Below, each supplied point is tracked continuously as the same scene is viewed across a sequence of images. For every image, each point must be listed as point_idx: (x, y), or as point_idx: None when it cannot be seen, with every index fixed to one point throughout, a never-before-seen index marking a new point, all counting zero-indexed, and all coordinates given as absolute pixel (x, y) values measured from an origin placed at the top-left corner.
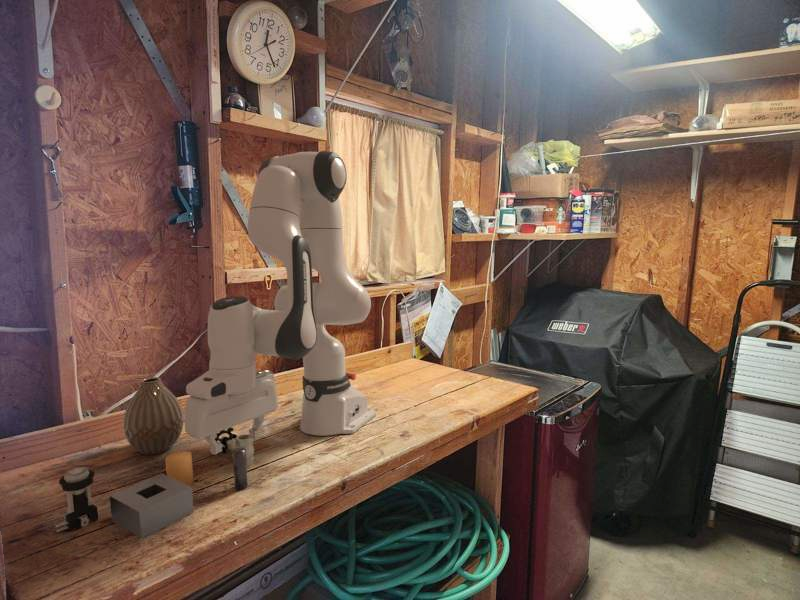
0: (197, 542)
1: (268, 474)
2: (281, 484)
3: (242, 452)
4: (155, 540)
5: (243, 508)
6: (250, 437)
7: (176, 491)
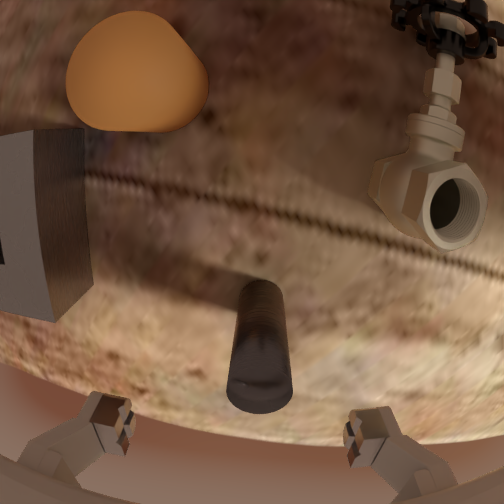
0: (61, 372)
1: (365, 312)
2: (327, 379)
3: (252, 412)
4: None
5: (183, 378)
6: (350, 413)
7: (19, 302)
